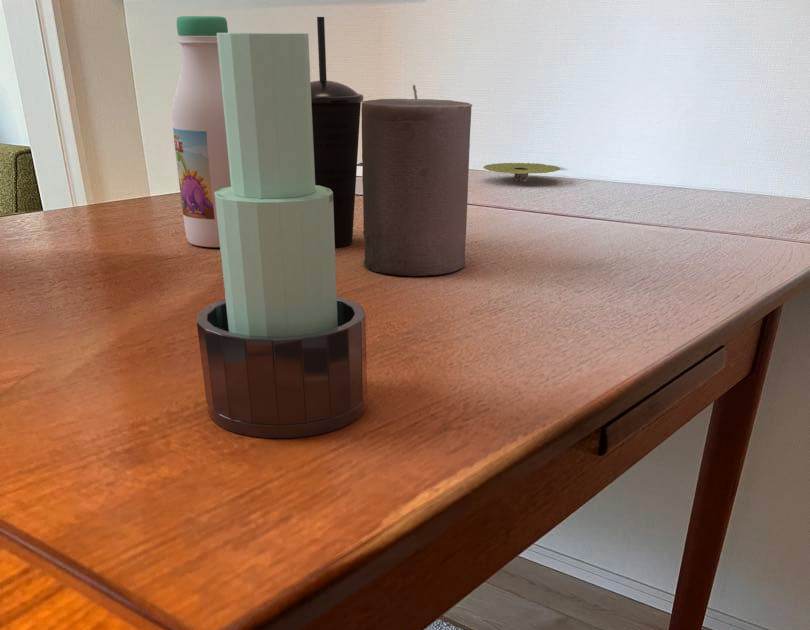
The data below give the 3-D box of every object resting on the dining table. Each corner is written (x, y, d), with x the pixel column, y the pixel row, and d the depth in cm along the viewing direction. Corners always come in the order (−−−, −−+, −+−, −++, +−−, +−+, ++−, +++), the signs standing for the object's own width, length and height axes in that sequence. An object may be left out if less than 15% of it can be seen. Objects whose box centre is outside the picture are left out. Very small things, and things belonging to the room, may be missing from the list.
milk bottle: (254, 231, 92) (236, 17, 82) (267, 246, 86) (249, 15, 75) (183, 236, 90) (155, 16, 79) (190, 251, 84) (161, 15, 73)
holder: (185, 433, 46) (171, 334, 43) (236, 375, 54) (227, 288, 51) (350, 443, 45) (347, 343, 42) (378, 382, 53) (377, 294, 50)
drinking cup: (348, 253, 83) (341, 16, 73) (279, 247, 85) (263, 15, 75) (377, 238, 89) (374, 17, 79) (312, 233, 92) (301, 17, 81)
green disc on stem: (538, 189, 118) (540, 174, 117) (468, 182, 123) (469, 168, 122) (571, 180, 126) (572, 165, 125) (504, 173, 131) (505, 160, 130)
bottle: (221, 410, 47) (178, 32, 37) (253, 372, 52) (221, 32, 43) (327, 416, 46) (309, 33, 37) (348, 377, 51) (337, 33, 42)
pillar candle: (346, 271, 77) (340, 86, 69) (387, 249, 85) (386, 80, 77) (446, 281, 74) (452, 89, 66) (479, 258, 82) (488, 83, 74)
